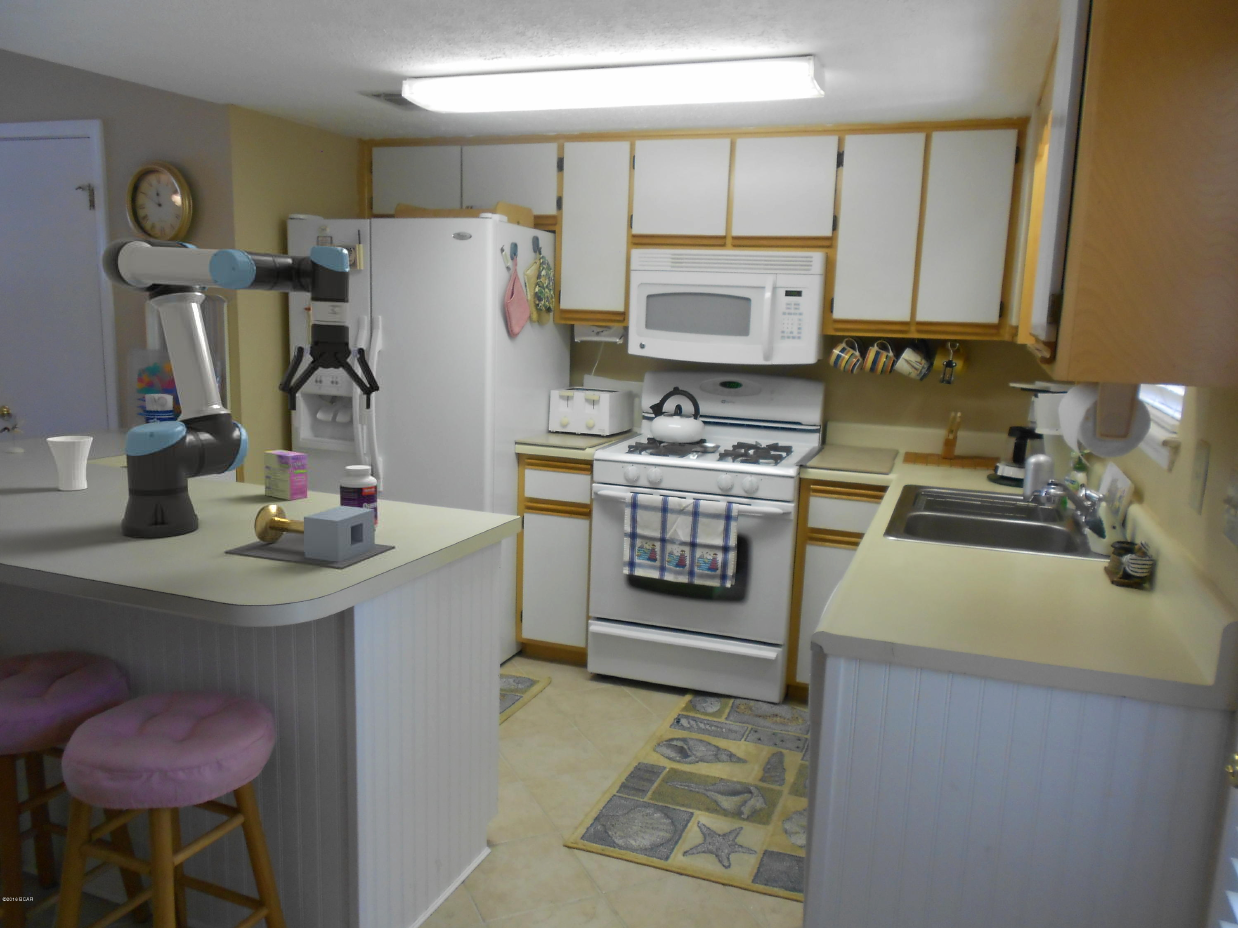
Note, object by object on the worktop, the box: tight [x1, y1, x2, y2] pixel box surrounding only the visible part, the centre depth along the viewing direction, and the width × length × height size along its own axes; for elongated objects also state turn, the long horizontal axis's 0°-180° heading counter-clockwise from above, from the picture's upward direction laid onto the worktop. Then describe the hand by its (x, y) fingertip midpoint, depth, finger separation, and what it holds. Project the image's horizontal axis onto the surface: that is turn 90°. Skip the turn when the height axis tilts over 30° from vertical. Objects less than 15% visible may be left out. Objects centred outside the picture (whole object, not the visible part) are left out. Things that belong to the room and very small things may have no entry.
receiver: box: [303, 505, 376, 562], centre depth 181 cm, size 8×12×8 cm, turn 161°
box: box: [263, 449, 308, 501], centre depth 236 cm, size 10×6×12 cm, turn 58°
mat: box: [224, 532, 396, 570], centre depth 184 cm, size 28×18×1 cm, turn 71°
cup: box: [46, 435, 94, 492], centre depth 238 cm, size 10×10×14 cm
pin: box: [253, 504, 304, 543], centre depth 184 cm, size 18×8×8 cm, turn 71°
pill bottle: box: [339, 464, 379, 530], centre depth 201 cm, size 8×8×14 cm
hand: (330, 425), depth 188 cm, fingers open, 13 cm apart
